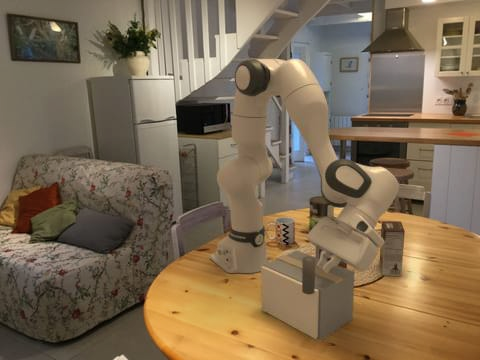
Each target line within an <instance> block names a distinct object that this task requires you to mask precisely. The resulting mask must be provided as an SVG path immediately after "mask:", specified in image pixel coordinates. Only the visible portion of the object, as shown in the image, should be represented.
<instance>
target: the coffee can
mask: <svg viewBox="0 0 480 360" xmlns="http://www.w3.org/2000/svg"><path fill="white" fill-rule="evenodd" d="M308 202H309V219H308V220H309V225H308V226H309V227H308V233H309V232H310V231H311V230H312V229H313V227H314V226H315V225H316V224H317V223H318V222H319V221H320V220H322V219H323V218H324V217H327V216H330V215H332V216H334V217H335V215H334V213H335V212H334V211H335V207H334V206H331V205H329V204H328V203H327V202H326V201H325V200H324V199H323V197H322V195H321V196H320V195H319V196H318V195H317V196H313V197H310V198H309V200H308Z"/></svg>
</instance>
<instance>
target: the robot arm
mask: <svg viewBox="0 0 480 360" xmlns="http://www.w3.org/2000/svg"><path fill="white" fill-rule="evenodd" d="M234 83H235V86H236V90H235V94H234V99H233V105H232V118H231V121H232V122H231V123H232V124H231V138H232V141H233V142H234V143H235V145H236V149H237V153H238V154H237V158H235V159H232V160H228V161H227V162H226V163H225V164H224V165H222V166H221V167H220V168H219V169H218V170H217V174H216V182H217V184H218V188H220V190H221V191H223V192H224V193H225V194H226V197H227V199H228V203H229V206H230V216H231V217H230V219H231V222H230V223H231V225H230V226H227V227H226V231H228V234H227V236H225V237H224V238H222V239H221V240H220V241H218V242H217V245H216V251H215V252H213V253H212V254H211V255H210V256H209V257H210V258H209V259H210V260H211V261H213V262H214V263H215V264H216V265H217V266H219V267H220V269H222V270H224V271H225V272H227V274H238V273H239V274H255V273H258V272H261V267H262V266H263V265H264V264H267V263H269V254H268V252H267V246H266V245H267V244H266V238H265V237H266V229H265V227H266V226H265V225H264V206H263V202H261V201H260V200H259V198H258V195H257V191H256V188H257V186H258V185H261V184H262V183H264V182H266V181H267V179H268V178H269V177H270V176H271V175H272V173H273V170H274V167H273V166H274V165H273V162H272V159H271V158H270V157H269V154H268V150H267V143H266V133H267V132H266V131H267V116H268V103H269V100H270V99H272V97H276V98H281V101H282V103H283V106H284V107H285V111H287V113H288V115H289V117H290V119H291V121H292V122H293V124H294V125H295V127H296V128H297V130H298V132H299V133H300V135H301V137H302V139H303V140H304V142H305V143H306V146H307V148H308V149H309V152H310V155H311V157H312V159H313V162H314V164H315V166H316V169H317V171H318V174H319V177H320V194H321V196H322V197H323V199H324V200H325V201H326V202H327V203H328V204H329V205H331V206H334V208H343V209H342V210H341V211H340V212H339V214H338V215H337V217H335V215H334V216H332V215H330V216H327V217H324V218H323V219H322V220H320V221H319V222H318V223H317V224H316V225H315V226H314V227H313V229H312V230H311V231H310V232H309V231H308V233H307V237H306V239H307V241H308V242H310V243H311V245H313V246H314V247H315V248H316V247H318V248H320V249H322V252H321V255H320V260H319V262H318V263H317V265H316V266H317V267H318V268H319V269H321V270H322V271H324V272H325V273H328V272H329V270H330V269H331V268H332V267H334V266H336V265H338V264H339V263H340V261H343V262H345V263H346V264H347V266H350V267H352V268H354V269H356V270H357V271H359V272H361V273H363V272H365V271H367V270H368V269H369V268H370V266H371V265H372V264H373V263H374V261H375V259H376V258H377V257H378V256H377V255H378V253H379V249H380V247H382V246H383V244H384V243H385V241H384V240H383V239H382V237H381V234H379V233H378V231H377V230H376V228H375V227H376V226H377V225H378V221H379V219H380V218H381V217H382V216H383V215H385V214H386V212H387V210H389V209H390V207H391V205H392V204H393V202H394V201H395V199H396V197H397V195H398V193H399V189H400V183H399V181H398V179H397V176H395V175H394V173H393V172H391V170H389V169H388V168H385V167H383V166H368V165H363V164H361V163H357V162H355V161H353V160H351V159H349V158H339V159H338V156H337V154H336V151H335V150H334V147H333V145H332V143H331V139H330V133H329V106H328V102H327V99H326V95H325V93H324V91H323V88H322V87H321V85H320V83H319V80H318V79H317V78H316V76H315V74H314V73H313V71H312V70H311V69H310V67H309V66H308V65H307V63H305V61H304V60H301V59H299V58H290V59H279V58H259V59H256V58H250V59H246V60H243V61H241V62H240V63H239V64H238V65H237V67H236V69H235V72H234ZM331 255H332V256H331ZM330 256H331V260H329V261H328V262H326V261H327V258H330Z"/></svg>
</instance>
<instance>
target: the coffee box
mask: <svg viewBox="0 0 480 360" xmlns="http://www.w3.org/2000/svg"><path fill="white" fill-rule="evenodd" d="M380 228H381V230H380V236H381V237H382V239H383V240H384V241H385V243H384V244H383V246H382V247H380V248H379V249H380V250H379V267H380V271H381V275H382V276H389V277H402V275H403V274H402V272H403V260H404V258H403V257H404V245H405V234H406V233H405V228H404V225H403V223H402V221H399V220H398V221H396V220H395V221H393V220H392V221H391V220H382V221H381V227H380Z"/></svg>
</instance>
